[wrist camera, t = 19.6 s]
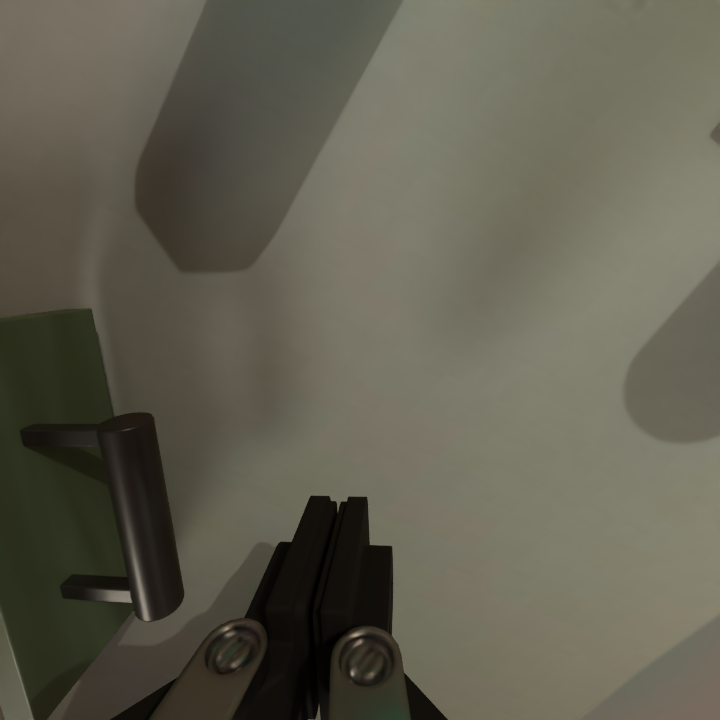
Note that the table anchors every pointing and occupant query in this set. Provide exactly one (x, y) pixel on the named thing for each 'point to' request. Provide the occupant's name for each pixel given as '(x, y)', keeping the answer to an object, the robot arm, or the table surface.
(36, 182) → the table surface
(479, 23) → the table surface
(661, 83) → the table surface
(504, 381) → the table surface
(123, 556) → the drawer
